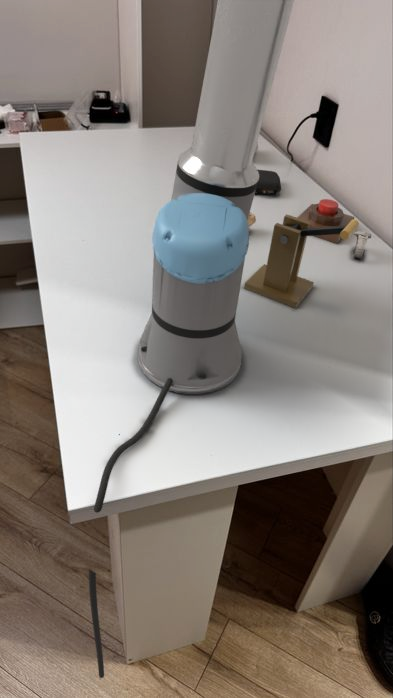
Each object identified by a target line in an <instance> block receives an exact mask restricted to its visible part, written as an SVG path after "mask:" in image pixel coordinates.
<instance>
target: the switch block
mask: <svg viewBox="0 0 393 698" xmlns="http://www.w3.org/2000/svg"><path fill="white" fill-rule="evenodd" d="M318 206H319V203H311V204H310V205H309V206H308V207H307V208H306V209H304V210H303V212H301V213H300V214H299V215H298V216H297V218H300V219H303V220H306V221H309V222H310V226H309V228H316V227H331V226H345V225H348V224H349V222H350V221H351V220H353V219H355V216H352V215H349V214H347V213H344V211H343V209H342V208H340V207H338V209H337V213H336V215H332V216H331V215H324V214H321V213H319V212H318ZM315 237H317V238H319V239H322V240H325V241H328V242H331V243H333V244H338V243H339V242H340V241H341V239H342V238H341V237H340V234H332V235H316V236H315Z"/></svg>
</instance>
